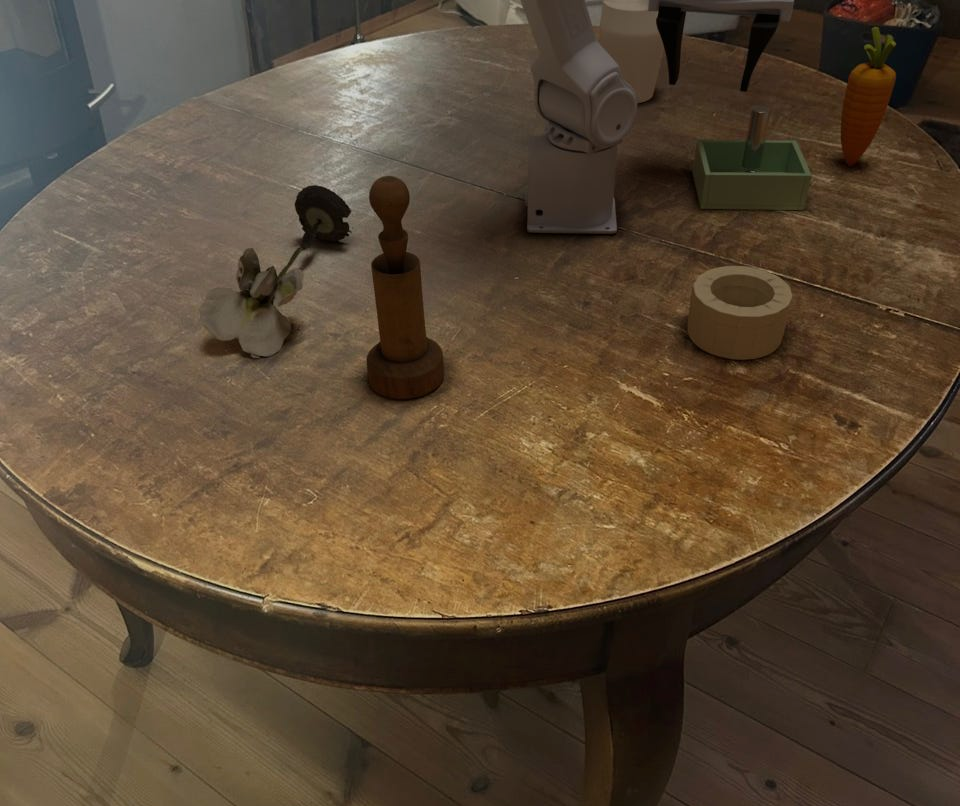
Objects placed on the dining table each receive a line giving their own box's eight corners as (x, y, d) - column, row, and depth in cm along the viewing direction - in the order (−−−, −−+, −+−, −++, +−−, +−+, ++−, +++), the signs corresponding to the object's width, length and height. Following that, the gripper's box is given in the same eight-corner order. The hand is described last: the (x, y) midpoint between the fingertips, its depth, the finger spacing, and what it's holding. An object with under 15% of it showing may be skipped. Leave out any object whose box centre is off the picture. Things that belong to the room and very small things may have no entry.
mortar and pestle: (405, 346, 84) (387, 153, 72) (459, 372, 81) (450, 174, 69) (353, 381, 80) (324, 183, 68) (408, 410, 77) (388, 208, 65)
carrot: (874, 176, 107) (911, 39, 97) (829, 173, 108) (862, 37, 98) (869, 158, 111) (905, 24, 101) (826, 155, 112) (857, 22, 101)
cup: (585, 88, 129) (590, -6, 121) (644, 80, 131) (653, -13, 123) (611, 111, 123) (618, 14, 115) (672, 102, 125) (684, 6, 117)
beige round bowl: (691, 358, 81) (698, 315, 78) (683, 307, 88) (689, 264, 85) (789, 361, 81) (799, 317, 78) (773, 309, 87) (783, 266, 84)
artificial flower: (372, 254, 99) (382, 177, 91) (267, 394, 85) (268, 318, 77) (297, 222, 99) (300, 142, 91) (181, 356, 86) (173, 276, 78)
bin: (700, 209, 102) (705, 174, 99) (692, 172, 109) (697, 139, 106) (803, 210, 101) (811, 175, 99) (789, 173, 108) (796, 140, 105)
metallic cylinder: (739, 192, 104) (753, 113, 98) (736, 181, 106) (750, 103, 100) (758, 192, 104) (773, 113, 98) (754, 181, 106) (768, 103, 100)
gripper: (807, -61, 93) (780, 78, 102) (663, -69, 97) (650, 66, 106) (801, -43, 88) (773, 101, 97) (650, -52, 92) (637, 88, 101)
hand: (708, 85), depth 101 cm, fingers open, 7 cm apart
